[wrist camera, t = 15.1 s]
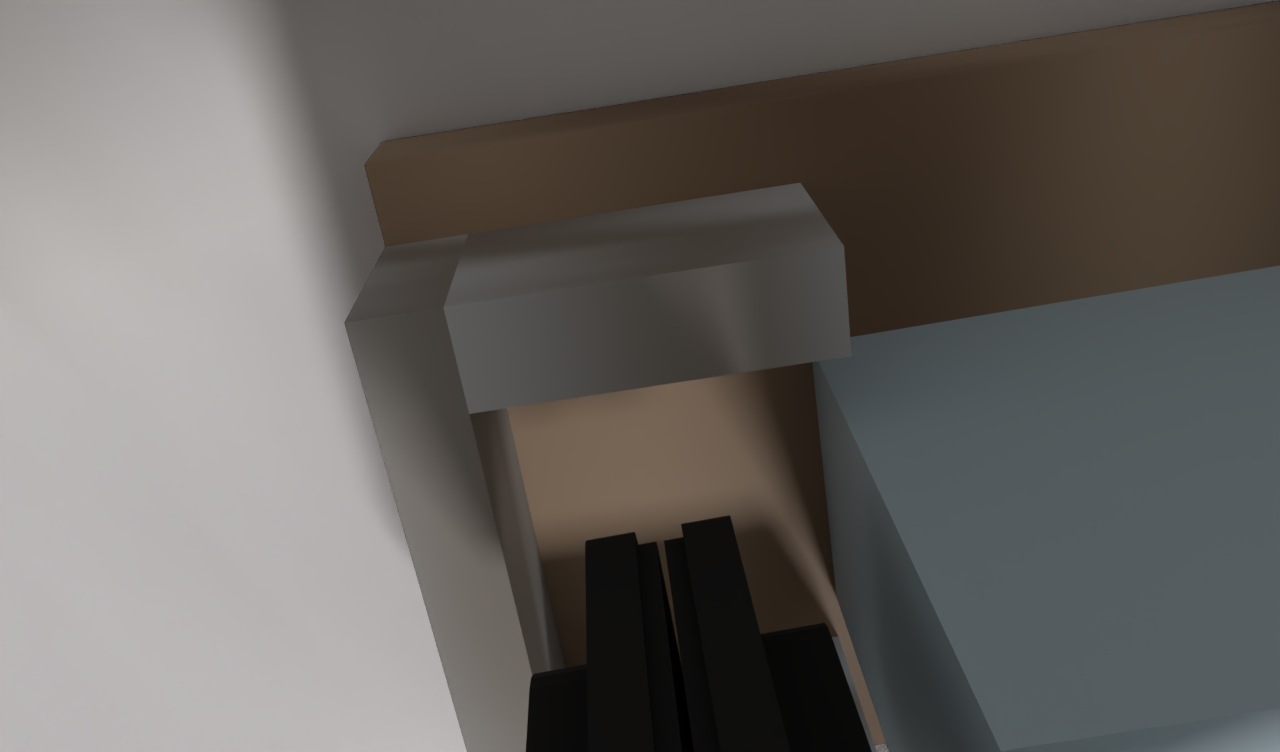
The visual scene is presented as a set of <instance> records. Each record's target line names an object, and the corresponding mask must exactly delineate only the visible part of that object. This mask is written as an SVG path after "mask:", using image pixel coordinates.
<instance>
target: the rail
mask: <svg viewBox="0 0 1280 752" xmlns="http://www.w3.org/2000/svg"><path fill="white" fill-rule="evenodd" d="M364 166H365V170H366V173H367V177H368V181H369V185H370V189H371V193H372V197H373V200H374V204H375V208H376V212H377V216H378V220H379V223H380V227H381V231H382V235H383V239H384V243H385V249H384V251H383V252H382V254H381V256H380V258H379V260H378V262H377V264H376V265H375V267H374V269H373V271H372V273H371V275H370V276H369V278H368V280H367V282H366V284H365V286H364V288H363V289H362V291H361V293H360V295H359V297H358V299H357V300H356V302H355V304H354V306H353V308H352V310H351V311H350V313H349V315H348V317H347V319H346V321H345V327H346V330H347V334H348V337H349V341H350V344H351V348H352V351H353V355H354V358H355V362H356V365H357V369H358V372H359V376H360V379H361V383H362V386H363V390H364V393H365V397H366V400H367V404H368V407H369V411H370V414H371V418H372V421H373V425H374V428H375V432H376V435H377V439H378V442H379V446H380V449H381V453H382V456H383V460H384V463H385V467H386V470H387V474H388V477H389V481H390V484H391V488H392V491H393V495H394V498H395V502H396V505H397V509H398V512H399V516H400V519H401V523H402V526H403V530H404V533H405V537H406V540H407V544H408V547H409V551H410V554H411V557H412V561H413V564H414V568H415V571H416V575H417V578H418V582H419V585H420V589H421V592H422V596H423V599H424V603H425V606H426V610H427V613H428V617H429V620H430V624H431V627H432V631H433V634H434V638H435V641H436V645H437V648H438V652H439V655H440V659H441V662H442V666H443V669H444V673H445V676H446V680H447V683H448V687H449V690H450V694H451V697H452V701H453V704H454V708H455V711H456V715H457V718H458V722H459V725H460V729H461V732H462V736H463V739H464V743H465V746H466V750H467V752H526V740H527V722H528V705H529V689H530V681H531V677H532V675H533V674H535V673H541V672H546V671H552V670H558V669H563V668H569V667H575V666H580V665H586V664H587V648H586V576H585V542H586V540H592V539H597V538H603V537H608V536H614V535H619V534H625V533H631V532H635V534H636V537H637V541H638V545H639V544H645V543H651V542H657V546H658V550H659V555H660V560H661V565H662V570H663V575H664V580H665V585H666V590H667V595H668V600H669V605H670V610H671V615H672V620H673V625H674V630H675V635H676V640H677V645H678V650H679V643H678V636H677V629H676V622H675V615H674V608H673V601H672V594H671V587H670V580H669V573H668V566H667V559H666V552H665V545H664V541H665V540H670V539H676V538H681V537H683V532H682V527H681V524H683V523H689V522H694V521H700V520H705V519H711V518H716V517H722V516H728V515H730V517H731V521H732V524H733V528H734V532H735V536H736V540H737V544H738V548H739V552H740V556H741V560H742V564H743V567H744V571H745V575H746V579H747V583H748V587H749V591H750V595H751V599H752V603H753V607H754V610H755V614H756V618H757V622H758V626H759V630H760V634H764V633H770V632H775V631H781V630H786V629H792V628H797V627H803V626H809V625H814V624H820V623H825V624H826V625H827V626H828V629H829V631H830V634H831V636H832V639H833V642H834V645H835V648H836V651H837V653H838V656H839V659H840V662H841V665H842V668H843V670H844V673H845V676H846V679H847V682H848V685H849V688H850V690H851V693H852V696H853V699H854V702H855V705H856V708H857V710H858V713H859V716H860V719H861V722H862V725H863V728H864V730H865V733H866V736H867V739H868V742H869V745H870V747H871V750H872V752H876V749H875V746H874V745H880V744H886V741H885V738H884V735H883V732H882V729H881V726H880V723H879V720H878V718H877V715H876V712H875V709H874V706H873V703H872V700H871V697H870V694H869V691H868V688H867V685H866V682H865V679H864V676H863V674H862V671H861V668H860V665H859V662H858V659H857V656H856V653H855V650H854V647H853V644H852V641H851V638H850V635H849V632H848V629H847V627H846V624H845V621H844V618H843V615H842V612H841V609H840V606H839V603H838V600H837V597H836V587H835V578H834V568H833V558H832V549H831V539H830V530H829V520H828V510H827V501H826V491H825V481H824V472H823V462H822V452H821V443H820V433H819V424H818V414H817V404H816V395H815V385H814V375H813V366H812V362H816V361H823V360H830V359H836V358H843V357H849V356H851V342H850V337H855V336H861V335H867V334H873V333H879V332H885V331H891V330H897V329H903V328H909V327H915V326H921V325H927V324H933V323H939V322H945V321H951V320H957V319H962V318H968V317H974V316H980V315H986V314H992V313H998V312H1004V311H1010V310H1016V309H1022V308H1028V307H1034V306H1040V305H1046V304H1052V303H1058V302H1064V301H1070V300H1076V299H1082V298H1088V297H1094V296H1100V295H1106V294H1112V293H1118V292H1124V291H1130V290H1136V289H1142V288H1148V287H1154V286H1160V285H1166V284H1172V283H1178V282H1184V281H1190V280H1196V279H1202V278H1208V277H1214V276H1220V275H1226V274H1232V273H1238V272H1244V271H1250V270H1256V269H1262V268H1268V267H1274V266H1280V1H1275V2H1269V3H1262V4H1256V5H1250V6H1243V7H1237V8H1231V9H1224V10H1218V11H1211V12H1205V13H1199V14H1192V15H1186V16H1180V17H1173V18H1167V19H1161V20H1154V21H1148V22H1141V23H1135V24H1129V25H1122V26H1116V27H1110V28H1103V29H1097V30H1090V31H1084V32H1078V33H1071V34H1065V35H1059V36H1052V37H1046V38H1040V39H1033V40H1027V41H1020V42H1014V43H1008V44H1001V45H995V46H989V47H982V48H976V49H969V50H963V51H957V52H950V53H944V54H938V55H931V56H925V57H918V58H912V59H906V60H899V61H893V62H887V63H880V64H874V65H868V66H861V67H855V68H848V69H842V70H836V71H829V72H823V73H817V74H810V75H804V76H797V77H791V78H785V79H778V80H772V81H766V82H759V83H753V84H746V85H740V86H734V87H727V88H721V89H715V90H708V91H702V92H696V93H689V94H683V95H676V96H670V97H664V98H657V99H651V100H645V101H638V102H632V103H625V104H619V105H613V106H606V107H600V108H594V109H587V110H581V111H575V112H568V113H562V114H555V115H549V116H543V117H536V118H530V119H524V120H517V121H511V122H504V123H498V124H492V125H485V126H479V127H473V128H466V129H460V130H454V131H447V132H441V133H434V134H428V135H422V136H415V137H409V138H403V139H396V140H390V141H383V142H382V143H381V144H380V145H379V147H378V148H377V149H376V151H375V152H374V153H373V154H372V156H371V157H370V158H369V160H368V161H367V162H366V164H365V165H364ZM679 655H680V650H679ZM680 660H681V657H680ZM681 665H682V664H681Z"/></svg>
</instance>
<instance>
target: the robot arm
mask: <svg viewBox="0 0 1280 752" xmlns="http://www.w3.org/2000/svg"><path fill="white" fill-rule="evenodd" d="M681 527H682V532H683V537H681V538H676V539H670V540H665V541H664V545H665V552H666V559H667V566H668V573H669V580H670V587H671V594H672V601H673V608H674V615H675V622H676V629H677V636H678V643H679V650H680V655H679V650H678V645H677V640H676V635H675V630H674V625H673V620H672V615H671V610H670V605H669V600H668V595H667V590H666V585H665V580H664V575H663V570H662V565H661V560H660V555H659V550H658V546H657V542H651V543H645V544H639V545H638V541H637V537H636V534H635V532H631V533H625V534H619V535H614V536H608V537H603V538H597V539H592V540H586V542H585V576H586V648H587V664H586V665H580V666H575V667H569V668H563V669H558V670H552V671H546V672H541V673H535V674H533V675H532V677H531V681H530V689H529V705H528V722H527V740H526V752H872V750H871V747H870V745H869V742H868V739H867V736H866V733H865V730H864V728H863V725H862V722H861V719H860V716H859V713H858V710H857V708H856V705H855V702H854V699H853V696H852V693H851V690H850V688H849V685H848V682H847V679H846V676H845V673H844V670H843V668H842V665H841V662H840V659H839V656H838V653H837V651H836V648H835V645H834V642H833V639H832V636H831V634H830V631H829V629H828V626H827V625H826V624H825V623H820V624H814V625H809V626H803V627H797V628H792V629H786V630H781V631H775V632H770V633H764V634H760V630H759V626H758V622H757V618H756V614H755V610H754V607H753V603H752V599H751V595H750V591H749V587H748V583H747V579H746V575H745V571H744V567H743V564H742V560H741V556H740V552H739V548H738V544H737V540H736V536H735V532H734V528H733V524H732V521H731V517H730V515H728V516H722V517H716V518H711V519H705V520H700V521H694V522H689V523H683V524H681ZM680 657H681V660H680ZM681 664H682V665H681Z"/></svg>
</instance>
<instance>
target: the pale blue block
mask: <svg viewBox="0 0 1280 752" xmlns="http://www.w3.org/2000/svg"><path fill="white" fill-rule="evenodd" d="M850 342H851V356H849V357H843V358H836V359H830V360H823V361H816V362H812V366H813V375H814V385H815V395H816V404H817V414H818V424H819V433H820V443H821V452H822V462H823V472H824V481H825V491H826V501H827V510H828V520H829V530H830V539H831V549H832V558H833V568H834V578H835V587H836V597H837V600H838V603H839V606H840V609H841V612H842V615H843V618H844V621H845V624H846V627H847V629H848V632H849V635H850V638H851V641H852V644H853V647H854V650H855V653H856V656H857V659H858V662H859V665H860V668H861V671H862V674H863V676H864V679H865V682H866V685H867V688H868V691H869V694H870V697H871V700H872V703H873V706H874V709H875V712H876V715H877V718H878V720H879V723H880V726H881V729H882V732H883V735H884V738H885V741H886V744H887V747H888V750H889V752H1280V266H1274V267H1268V268H1262V269H1256V270H1250V271H1244V272H1238V273H1232V274H1226V275H1220V276H1214V277H1208V278H1202V279H1196V280H1190V281H1184V282H1178V283H1172V284H1166V285H1160V286H1154V287H1148V288H1142V289H1136V290H1130V291H1124V292H1118V293H1112V294H1106V295H1100V296H1094V297H1088V298H1082V299H1076V300H1070V301H1064V302H1058V303H1052V304H1046V305H1040V306H1034V307H1028V308H1022V309H1016V310H1010V311H1004V312H998V313H992V314H986V315H980V316H974V317H968V318H962V319H957V320H951V321H945V322H939V323H933V324H927V325H921V326H915V327H909V328H903V329H897V330H891V331H885V332H879V333H873V334H867V335H861V336H855V337H850Z"/></svg>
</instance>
